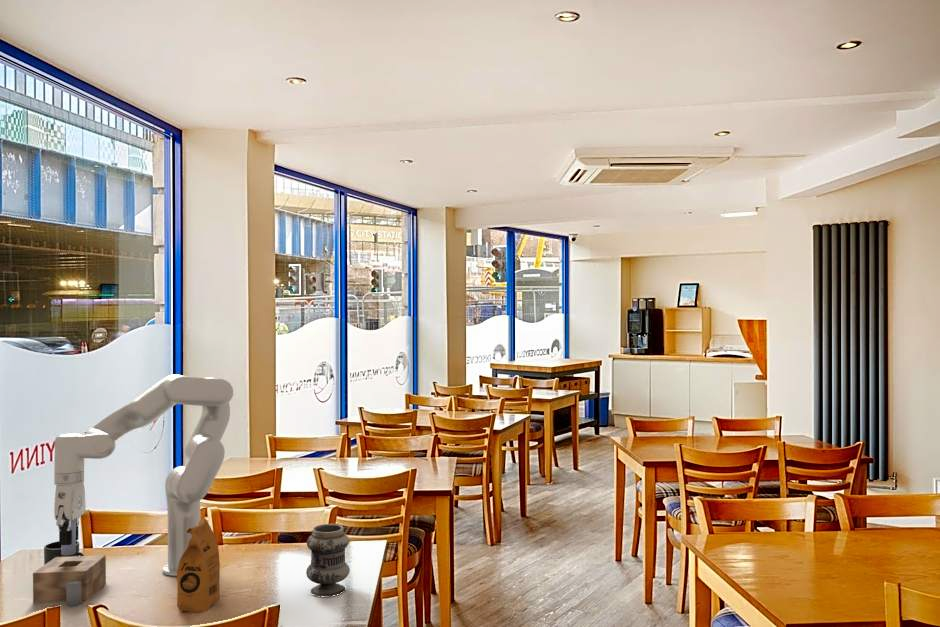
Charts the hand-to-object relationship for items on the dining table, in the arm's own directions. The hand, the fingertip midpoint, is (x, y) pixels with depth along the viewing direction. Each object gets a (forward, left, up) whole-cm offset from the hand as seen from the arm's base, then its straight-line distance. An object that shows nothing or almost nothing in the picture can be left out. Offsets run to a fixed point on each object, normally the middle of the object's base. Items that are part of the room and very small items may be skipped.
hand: (68, 541), depth 218 cm
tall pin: (0, 0, -3) cm, 3 cm away
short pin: (-5, +10, -14) cm, 18 cm away
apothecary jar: (-73, +8, -15) cm, 75 cm away
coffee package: (-39, +14, -15) cm, 44 cm away
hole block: (0, 0, -14) cm, 14 cm away
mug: (+8, -16, -15) cm, 23 cm away
